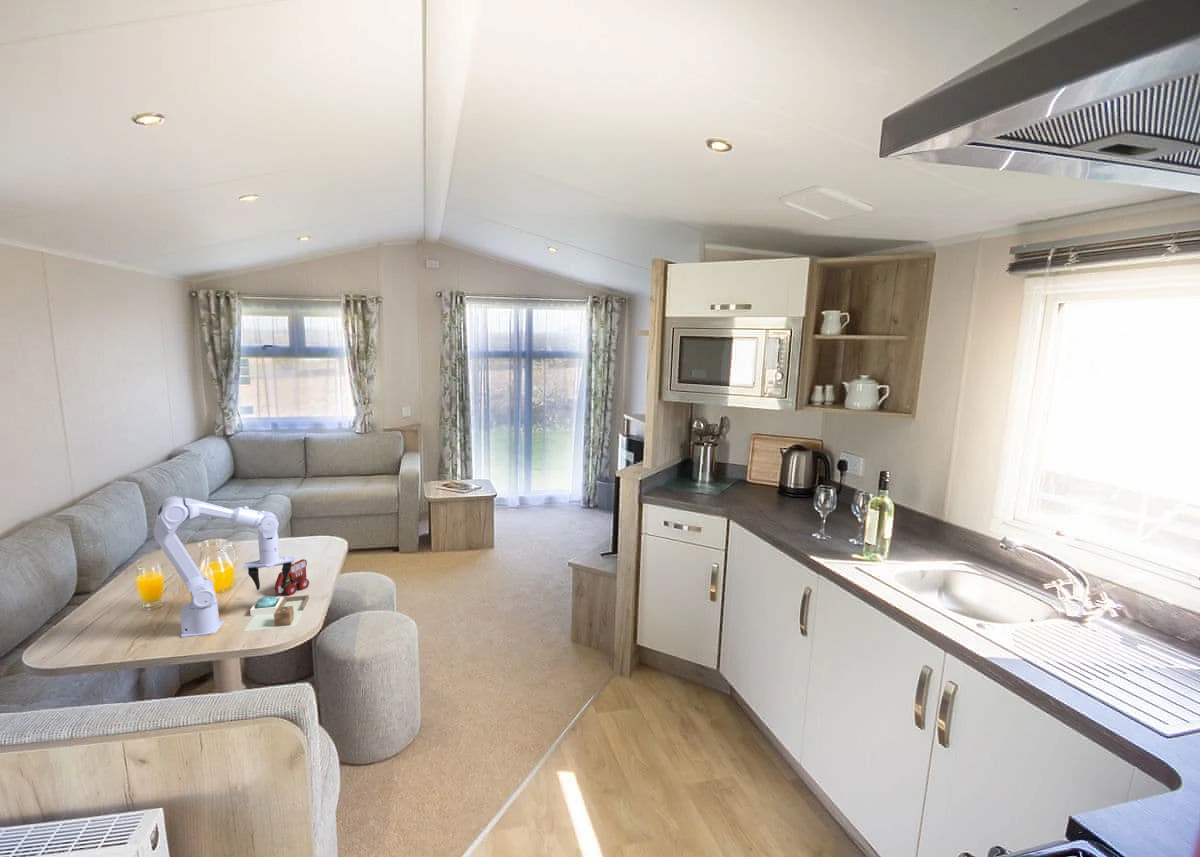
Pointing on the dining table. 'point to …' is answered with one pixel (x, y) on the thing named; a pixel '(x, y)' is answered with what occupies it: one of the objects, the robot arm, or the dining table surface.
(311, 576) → the dining table surface
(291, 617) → the die
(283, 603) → the pale green flat board
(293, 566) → the toy fire truck
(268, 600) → the dome
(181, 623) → the robot arm
